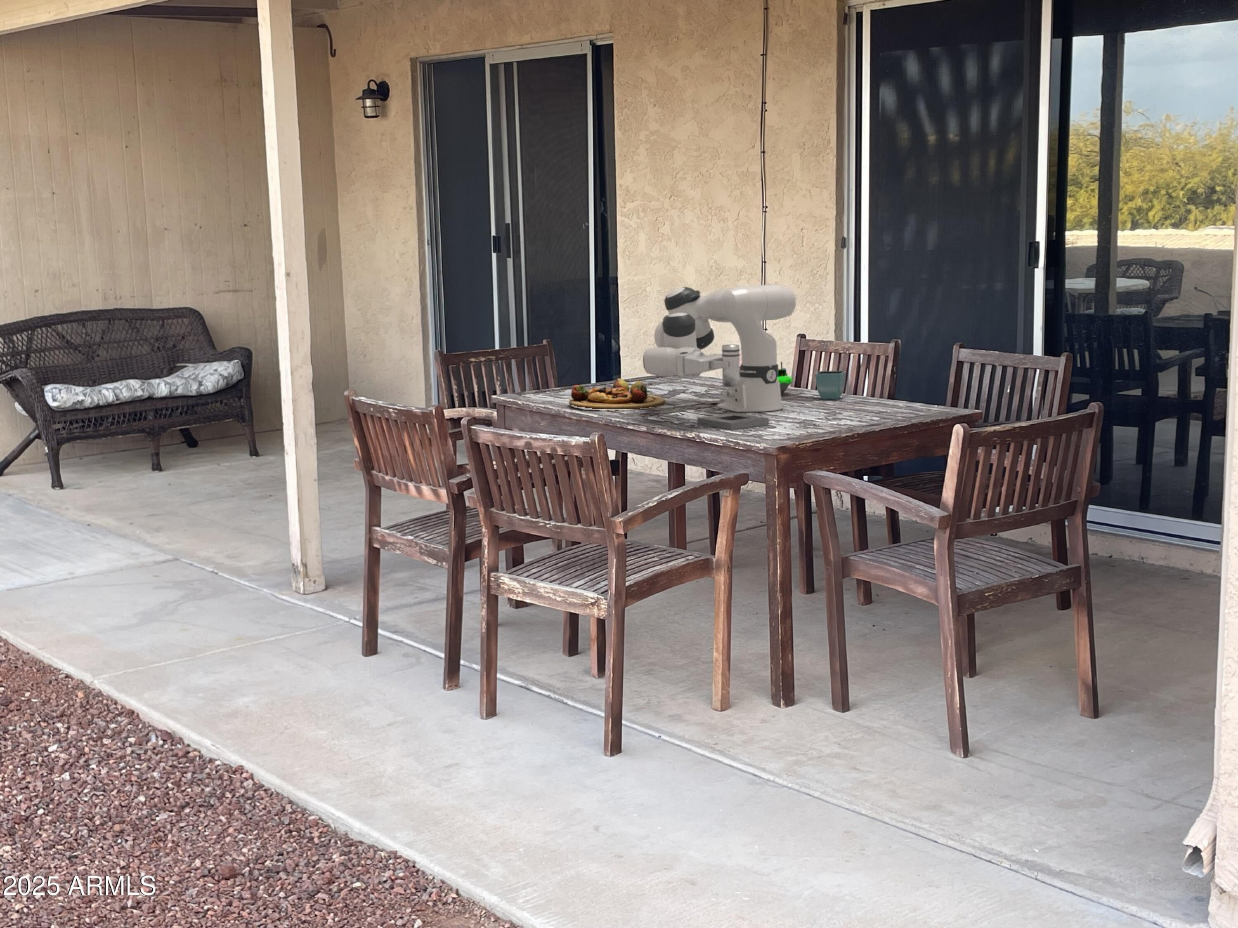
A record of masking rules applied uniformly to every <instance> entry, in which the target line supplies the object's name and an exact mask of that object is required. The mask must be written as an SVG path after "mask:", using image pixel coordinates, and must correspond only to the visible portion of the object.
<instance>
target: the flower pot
mask: <svg viewBox="0 0 1238 928" xmlns="http://www.w3.org/2000/svg"><path fill="white" fill-rule="evenodd" d="M846 375H847V371H846V370H820V371H817V372H815V373H814V376H815V384H816V390H817V394H818V395H819V397H820V398H821V400H823V401H825V400H835V401H836V400H839V399H840V398H841V396H842V394H843V392H844V388H845V382H846Z"/></svg>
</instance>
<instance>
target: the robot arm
mask: <svg viewBox="0 0 1238 928" xmlns="http://www.w3.org/2000/svg"><path fill="white" fill-rule="evenodd" d="M700 294H701V291H700V290H699V289H698V290H695V289H693V288H692V287H688V286H682V287H677V288H674V289H673V290H671V291H670V292H669V293H668V294H667V295H666V296H665V298H664V301H663V302H664V307H665V310H666V311H667V313H668V314H667V315H665V316H664V317H662V318H663V319H662V320H661V321H660V322H659V323H658V324H657V325H656V328H655V329H654V335H653V337H654V343H655V345H656V347H650V348H647V349H645V350H644V353H643V356H642V364H643V369H644V371H645V373H647V374H649V375H651V376H657V377H659V376H660V377H680V378H698V377H699V376H701V374H703V373H707V372H710V371H711V372H712V371H715V370H720V369H722V368H728V367H729V366H730V365H729V364H730V363H729V361H722V353H711V354H705V352H703V351H702V350H704V349H706V348H707V347H709V346H710V345H711V344H712V343H713V342H714V340H715V333H714V330H713V328H712V327H711V323H710V321H709V320H711V321H713V322H718V323H730V324H731V325H732V326H733V327H734V328H735V330H736V333H737V335H738V337H739V340H740V351H741V354H740V356H741V365H740V386H739V387H725V388H726V389H725V390H724V391H725V392H724V400H723V401H724V402H721V403H717V405H716V408H720V409H723V410H728V411H732V412H735V413H743V412H744V413H745V412H746V413H748V412H751V413H753V412H770V411H771V412H772V411H773V412H774V411H779V410H782V409H783V407H784V406H785V405H784V402H783V401H782V394H781V391H780V383H779V381H778V379H777V376H778V371H779V369H780V368H779V364H778V360H777V359H778V357H777V355H778V354H777V350H778V349H777V340H776V338H775V337H774V336H773V335H772V334H770V333H768V332H766V331H765V330H764V328H763V325H762V322H765V321H776V320H781V319H784V318H787V317H790V316H791V315H792V314H793V313H794V311H795V309H796V305H797V300H796V299H797V298H796V295H795V293H794V291H793V290H792V288H790V287H788V286H785V285H780V284H761V285H747V286H737V287H728V288H720V289H717V290H716V289H715V290H713V291H711V292H709V293H707V294H706V295H704V296H702V295H700Z"/></svg>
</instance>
